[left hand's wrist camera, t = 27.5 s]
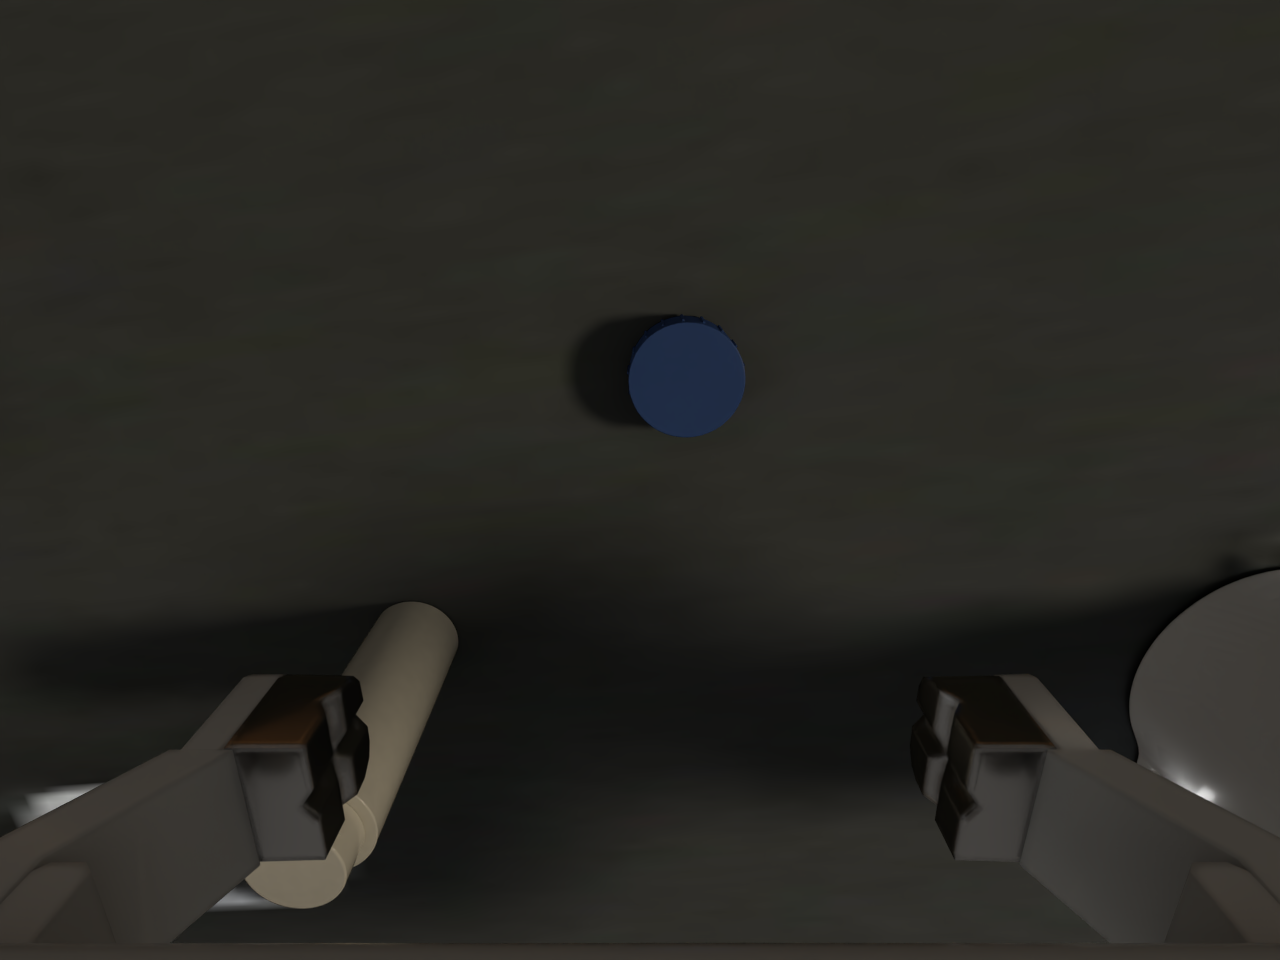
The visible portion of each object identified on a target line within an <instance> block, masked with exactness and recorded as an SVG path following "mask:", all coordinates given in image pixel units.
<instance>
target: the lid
mask: <svg viewBox="0 0 1280 960" xmlns="http://www.w3.org/2000/svg"><path fill="white" fill-rule="evenodd" d="M744 366H745V364H744V363H743V361H742V358H741V356H740V354H739V352H738V350H737V345H736V344H735V342H734V341H733V340H730V338H729V337H728V336H727V335H726V333H725V332H724V331H723V329H722V328H721V327H720V326H719V325H718V326H716V325H715V324H713V323H712V322H709V321H707V320H705V319H703V317H700V318H699V317H693V316H683V314H682V315H680V316H678V317H673V318H669V319H666V320H663V319H662V320H661V322H659V323H657V324H656V325H654V326H653V327H651V328H650V329H649V330H648V331H646V330H645V331H644V335H643V336H642V337H641V338H640V340H639V341H638V343H637V344H636V346H635V347H633V352H632V356H631V360H630V365H628V369H627V374H629V382H628V383H629V394H630V396H631V399H632V402H633V404H634V406H635V408H636V410H637V412H638V413H639V414H640V416H641V417H642V418H643V419H644V420H645V421H646V422H647V423H648V424H649V425H651V426H652V427H653V428H655V429H657V430H658V431H660V432H663V433H665V434H668V435H671V436H677V437H695V436H700V435H703V434H706V433H709V432H711V431H713V430H715V429H717V428H718V427H720V426H721V425H723V424H724V423H725V422H726V421H727V420H728V419H729V418H730V417H731V416H732V415H733V413H734V412H735V410H736V409H737V407H738V405H739V403H740V401H741V399H742V396H743V392H744V388H745V370H744Z"/></svg>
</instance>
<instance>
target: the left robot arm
mask: <svg viewBox="0 0 1280 960" xmlns="http://www.w3.org/2000/svg"><path fill="white" fill-rule="evenodd" d="M363 701H364V700H363V695H362V690H361V685H360V681H359V680H358V679H357V678H356V677H354V676H340V675H293V674H287V675H282V674H252V675H249V676H246V677H243V678H242V679H241V681H240V682H239V683H238V684H237V685H236V686H235V687H234V689H233V690H232V691H231V692H230V693H229V694H228V696H227V697H226V698H225V699H224V700H223V701H222V703H221V704H220V705H219V706H218V707H217V708H216V709H215V711H214V712H213V713H212V714H211V715H210V716H209V718H208V719H207V720H206V721H205V722H204V723H203V725H202V726H201V727H200V728H199V729H198V730H197V731H196V733H195V734H194V735H193V736H192V737H191V738H190V740H189V741H188V742H187V743H186V744H185V745H184V747H183V748H182V749H181V750H168V751H166V752H164V753H162V754H160V755H158V756H156V757H154V758H152V759H151V760H149V761H147V762H145V763H143V764H141V765H139V766H137V767H135V768H133V769H131V770H129V771H127V772H125V773H124V774H122V775H120V776H118V777H116V778H114V779H112V780H110V781H108V782H106V783H104V784H102V785H100V786H98V787H97V788H95V789H93V790H91V791H89V792H87V793H85V794H83V795H81V796H79V797H77V798H75V799H73V800H71V801H70V802H68V803H66V804H64V805H62V806H60V807H58V808H56V809H54V810H52V811H50V812H48V813H46V814H44V815H43V816H41V817H39V818H37V819H35V820H33V821H31V822H29V823H27V824H25V825H23V826H21V827H19V828H17V829H15V830H14V831H12V832H10V833H8V834H6V835H4V836H2V837H0V960H1280V570H1274V571H1269V572H1264V573H1260V574H1256V575H1253V576H1249V577H1246V578H1243V579H1240V580H1238V581H1235V582H1233V583H1230V584H1228V585H1226V586H1223V587H1221V588H1219V589H1218V590H1216V591H1214V592H1212V593H1210V594H1208V595H1207V596H1205V597H1203V598H1202V599H1200V600H1199V601H1197V602H1196V603H1194V604H1193V605H1191V606H1190V607H1189V608H1187V609H1186V610H1185V611H1183V612H1182V613H1181V614H1180V615H1179V616H1177V617H1176V618H1175V619H1174V620H1173V621H1172V622H1171V623H1170V624H1169V625H1168V626H1167V627H1166V628H1165V629H1164V630H1163V631H1162V632H1161V634H1160V635H1159V636H1158V637H1157V638H1156V640H1155V641H1154V642H1153V643H1152V645H1151V646H1150V648H1149V649H1148V651H1147V652H1146V654H1145V656H1144V657H1143V659H1142V661H1141V663H1140V665H1139V667H1138V669H1137V672H1136V674H1135V677H1134V680H1133V683H1132V688H1131V692H1130V700H1129V714H1130V721H1131V725H1132V729H1133V732H1134V735H1135V738H1136V741H1137V744H1138V748H1139V756H1138V760H1137V763H1135V762H1133V761H1131V760H1129V759H1128V758H1126V757H1124V756H1122V755H1120V754H1118V753H1116V752H1114V751H1112V750H1099V749H1098V748H1097V747H1096V745H1095V744H1094V743H1093V742H1092V741H1091V740H1090V738H1089V737H1088V736H1087V735H1086V734H1085V733H1084V732H1083V730H1082V729H1081V728H1080V727H1079V726H1078V725H1077V723H1076V722H1075V721H1074V720H1073V719H1072V718H1071V716H1070V715H1069V714H1068V713H1067V712H1066V711H1065V710H1064V708H1063V707H1062V706H1061V705H1060V704H1059V703H1058V701H1057V700H1056V699H1055V698H1054V697H1053V696H1052V695H1051V693H1050V692H1049V691H1048V690H1047V689H1046V688H1045V686H1044V685H1043V684H1042V683H1041V682H1040V681H1039V679H1038V678H1036V677H1034V676H1032V675H1030V674H1006V675H993V676H934V677H923V679H922V681H921V683H920V685H919V689H918V694H917V700H916V701H917V703H918V704H919V706H920V708H921V710H922V712H923V713H924V715H923V716H922V717H921V718H920V719H919V720H918V721H917V722H916V723H915V724H914V725H913V726H912V733H911V741H910V752H911V763H912V768H913V772H914V775H915V779H916V781H917V784H918V786H919V788H920V790H921V792H922V794H923V795H924V796H925V797H927V798H928V799H930V800H931V801H932V802H934V803H935V804H936V805H937V810H936V816H935V821H936V823H937V825H938V827H939V829H940V831H941V833H942V835H943V837H944V839H945V841H946V843H947V845H948V847H949V849H950V851H951V853H952V855H953V857H954V859H955V860H975V861H1011V862H1020V866H1021V867H1023V868H1024V869H1025V870H1026V871H1027V872H1028V873H1030V874H1031V875H1032V876H1033V877H1034V878H1035V879H1037V880H1038V881H1039V882H1040V883H1041V884H1042V885H1043V886H1045V887H1046V888H1047V889H1048V890H1049V891H1050V892H1052V893H1053V894H1054V895H1055V896H1056V897H1057V898H1059V899H1060V900H1061V901H1062V902H1063V903H1064V904H1066V905H1067V906H1068V907H1069V908H1070V909H1071V910H1073V911H1074V912H1075V913H1076V914H1077V915H1078V916H1080V917H1081V918H1082V919H1083V920H1084V921H1085V922H1086V923H1088V924H1089V925H1090V926H1091V927H1092V928H1093V929H1095V930H1096V931H1097V932H1098V933H1099V934H1100V935H1102V936H1103V937H1104V938H1105V939H1106V940H1107V941H1109V942H1110V943H170V942H172V941H173V940H174V939H175V938H176V937H177V936H179V935H180V934H181V933H182V932H183V931H184V930H186V929H187V928H188V927H189V926H190V925H191V924H193V923H194V922H195V921H196V920H197V919H198V918H200V917H201V916H202V915H203V914H204V913H205V912H207V911H208V910H209V909H210V908H211V907H212V906H214V905H215V904H216V903H217V902H218V901H219V900H221V899H222V898H223V897H224V896H225V895H226V894H228V893H229V892H230V891H231V890H232V889H233V888H235V887H236V886H237V885H238V884H239V883H240V882H242V881H243V880H244V879H245V878H246V877H247V876H248V875H250V874H251V873H252V872H253V871H254V870H255V869H257V868H258V867H259V866H260V862H269V861H303V860H326V858H327V856H328V854H329V851H330V849H331V847H332V845H333V843H334V841H335V839H336V837H337V835H338V833H339V831H340V829H341V827H342V825H343V823H344V821H345V816H344V810H343V805H344V804H345V803H346V802H348V801H349V800H350V799H352V798H353V797H355V796H356V795H357V794H358V792H359V790H360V788H361V786H362V783H363V781H364V779H365V776H366V771H367V766H368V762H369V757H370V739H369V732H368V726H367V725H366V724H365V723H364V722H363V721H362V720H361V719H360V718H359V717H358V716H357V715H356V713H357V712H358V710H359V708H360V706H361V704H362V703H363Z"/></svg>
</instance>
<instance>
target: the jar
mask: <svg viewBox="0 0 1280 960" xmlns="http://www.w3.org/2000/svg"><path fill="white" fill-rule="evenodd" d="M457 649H458V635H457V631H456V629H455V627H454V625H453V623H452V622H451V620H450V619H449V618H448V617H447V616H446V615H445V614H444V613H443V612H442V611H440V610H439V609H437V608H435V607H433V606H431V605H428V604H425V603H421V602H402V603H398V604H395V605H393V606H391V607H389V608H387V609H386V610H385V611H383V612H382V613H381V614H380V616H379V617H378V619H377V620H376V622H375V623H374V625H373V626H372V628H371V629H370V631H369V632H368V634H367V635H366V637H365V639H364V640H363V642H362V643H361V645H360V646H359V648H358V649H357V651H356V652H355V654H354V656H353V657H352V659H351V660H350V662H349V663H348V665H347V666H346V668H345V669H344V671H343V672H342V674H341V676H354V677H356V678H357V679H358V680H359V681H360V685H361V690H362V695H363V700H364V701H363V703H362V704H361V706H360V708H359V710H358V712H357V713H356V715H357V716H358V717H359V718H360V719H361V720H362V721H363V722H364V723H365V724H366V725H367V726H368V732H369V739H370V757H369V762H368V766H367V771H366V776H365V779H364V781H363V783H362V786H361V788H360V790H359V792H358V794H357V795H356V796H355V797H353V798H352V799H350V800H349V801H348V802H346V803H345V804H344V805H343V810H344V816H345V821H344V823H343V825H342V827H341V829H340V831H339V833H338V835H337V837H336V839H335V841H334V843H333V845H332V847H331V849H330V851H329V854H328V856H327V858H326V860H303V861H269V862H260V866H259V867H258V868H257V869H255V870H254V871H253V872H252V873H251V874H250V875H248V876H247V877H246V878H245V881H246V882H247V883H248V884H249V886H250V887H251V888H252V889H253V890H254V891H255V892H256V893H258V894H259V895H260V896H262V897H263V898H265V899H267V900H268V901H270V902H273V903H275V904H278V905H281V906H285V907H290V908H298V909H306V908H314V907H318V906H321V905H324V904H326V903H328V902H330V901H332V900H333V899H334V898H336V897H337V896H338V895H339V894H340V893H341V891H342V890H343V888H344V887H345V884H346V882H347V880H348V878H349V875H350V873H351V871H352V868H353V867H355V866H357V865H358V864H360V863H361V862H363V861H364V860H365V859H366V858H367V857H368V856H369V855H370V854H371V853H372V851H373V849H374V848H375V845H376V843H377V841H378V838H379V836H380V834H381V831H382V829H383V826H384V824H385V822H386V819H387V817H388V814H389V812H390V810H391V807H392V805H393V803H394V800H395V798H396V795H397V793H398V791H399V788H400V786H401V784H402V781H403V779H404V776H405V774H406V772H407V769H408V767H409V764H410V762H411V760H412V757H413V755H414V753H415V750H416V748H417V745H418V743H419V741H420V738H421V736H422V733H423V731H424V729H425V726H426V724H427V722H428V719H429V717H430V714H431V712H432V710H433V707H434V705H435V702H436V700H437V698H438V695H439V693H440V691H441V688H442V686H443V683H444V681H445V679H446V676H447V674H448V671H449V669H450V667H451V664H452V662H453V660H454V657H455V655H456V652H457Z"/></svg>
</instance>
